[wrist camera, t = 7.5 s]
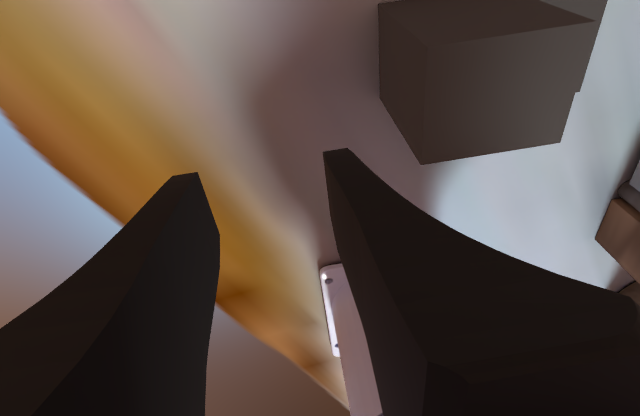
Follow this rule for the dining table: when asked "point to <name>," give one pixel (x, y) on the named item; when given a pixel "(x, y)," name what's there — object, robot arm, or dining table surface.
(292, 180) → the dining table surface
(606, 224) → the brown wooden bar
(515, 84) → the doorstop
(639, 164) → the door
